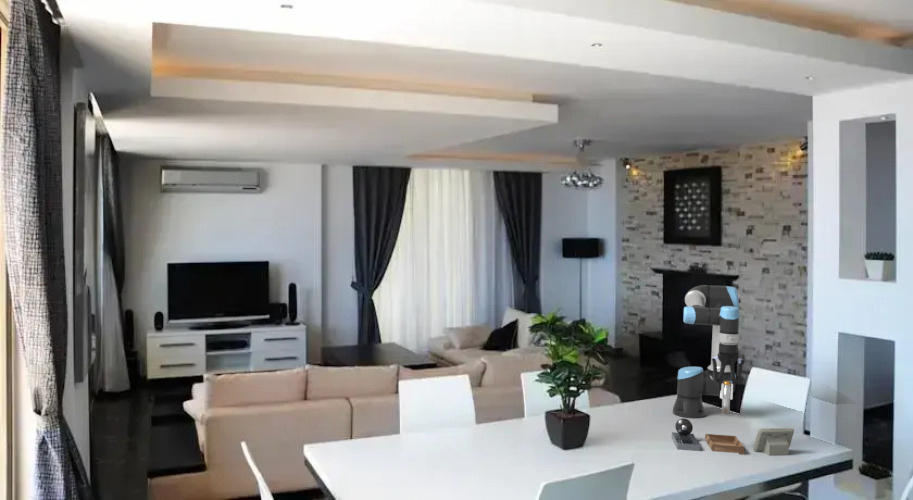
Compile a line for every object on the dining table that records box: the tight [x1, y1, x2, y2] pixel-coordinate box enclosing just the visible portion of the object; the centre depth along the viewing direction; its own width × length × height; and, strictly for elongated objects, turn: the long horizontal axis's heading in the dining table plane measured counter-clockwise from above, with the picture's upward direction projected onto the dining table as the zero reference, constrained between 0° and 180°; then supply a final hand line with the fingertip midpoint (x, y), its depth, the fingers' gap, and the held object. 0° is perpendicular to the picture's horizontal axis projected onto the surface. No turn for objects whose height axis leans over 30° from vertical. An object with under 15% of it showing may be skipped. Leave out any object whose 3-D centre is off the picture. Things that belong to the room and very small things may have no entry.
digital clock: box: [752, 427, 795, 456], centre depth 297 cm, size 16×9×11 cm, turn 87°
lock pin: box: [721, 381, 731, 414], centre depth 301 cm, size 3×3×13 cm
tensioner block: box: [671, 418, 701, 452], centre depth 303 cm, size 16×9×10 cm, turn 171°
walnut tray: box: [704, 433, 745, 455], centre depth 302 cm, size 16×13×3 cm
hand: (726, 398), depth 301 cm, fingers closed on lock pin, 3 cm apart
